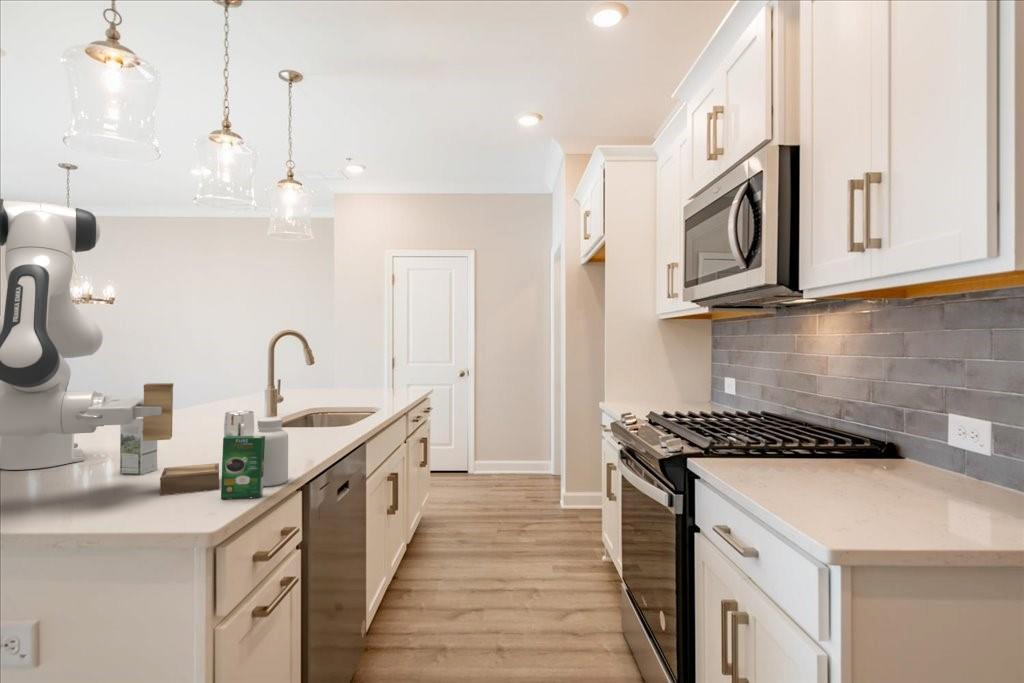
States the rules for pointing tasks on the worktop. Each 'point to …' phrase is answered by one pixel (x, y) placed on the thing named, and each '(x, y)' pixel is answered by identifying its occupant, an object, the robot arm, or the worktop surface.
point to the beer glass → (239, 423)
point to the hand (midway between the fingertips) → (163, 408)
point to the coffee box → (242, 466)
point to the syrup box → (136, 450)
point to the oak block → (158, 424)
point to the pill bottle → (274, 451)
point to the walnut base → (189, 478)
